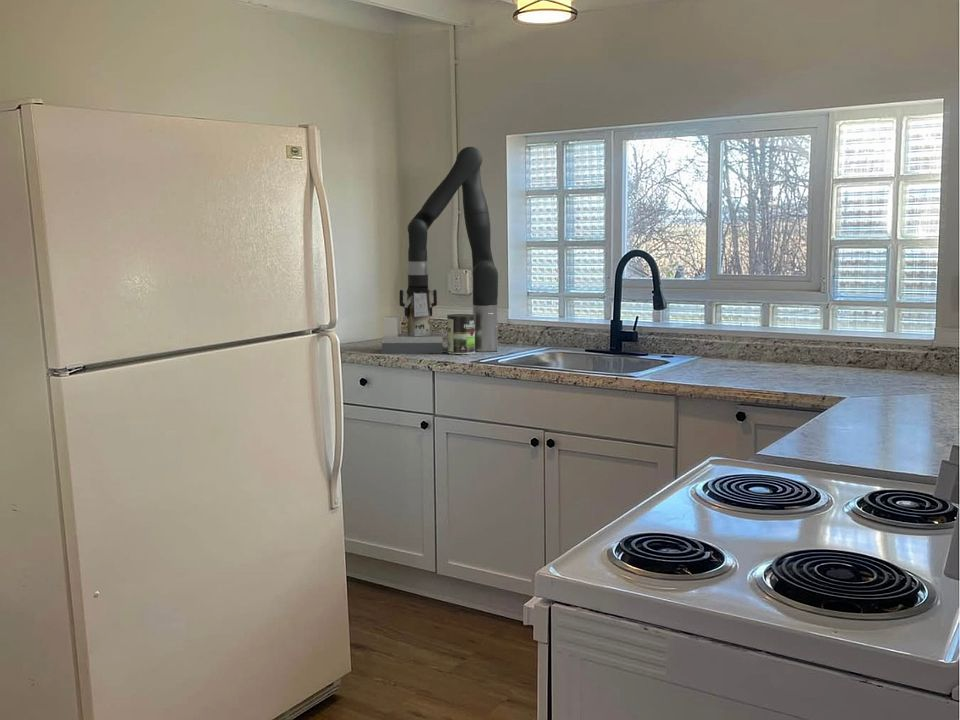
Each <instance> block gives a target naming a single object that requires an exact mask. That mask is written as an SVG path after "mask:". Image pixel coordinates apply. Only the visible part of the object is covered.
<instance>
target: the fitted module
mask: <svg viewBox="0 0 960 720" xmlns="http://www.w3.org/2000/svg"><path fill="white" fill-rule="evenodd" d="M399 324H400V317H399V316H389V315H388V316H384V317H383V337H399V333H400V325H399Z"/></svg>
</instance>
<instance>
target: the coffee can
mask: <svg viewBox="0 0 960 720" xmlns="http://www.w3.org/2000/svg"><path fill="white" fill-rule="evenodd" d="M446 317H447V354H448V353H449V354H448V355H455V354H462V355H461V356H464V355H465V354H468V355H475V353H476V351H475V315H473V314H468V313H466V314H465V313H456V314H454V313H453V314H447V315H446Z"/></svg>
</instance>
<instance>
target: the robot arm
mask: <svg viewBox="0 0 960 720" xmlns="http://www.w3.org/2000/svg"><path fill="white" fill-rule="evenodd" d="M482 163H483V155H482V153H481V151H480V150H479V149H478V148H476V147H474V146H466V147H463V148H462V149H461V150H460V151H459V152H458V154H457V155H456V158H455V162H454V163H453V166H452V168H451V169H450V171H449V172H448V174H447V175H446V176H445V178H444V179H443V180H442V181H441V182H440V184H439V185H437V187H435V189H434V190H433V192H432V193H431V194H430V195H429V196H428V198H427V199H426V201H425V202H424V203H423V205H422V206H421V208H420V210H419V211H418V212H417V213H416V214H415V215H414V217H412V219H411V220H410V222H409V223H408V224H407V233H408V250H407V254H408V255H407V258H408V259H407V289H400V290H399V306H400V307H402V308H404V317H406V318H407V319H408V318H409V308H408V305H409V304H410V302H411V300H410V299H411V297H410V298H409V300H408V301H407V300H406V302H405V303H404V296H405V295H407V294H408V295H409V296H411V293H429V294H431V296H433V302H432V303H431V302H430V317H432V316H433V307H436V306H438V296H437V295H438V293H437V289H436V288H435V289H429V266H428V265H429V264H428V247H427V246H428V245H427V244H428V230H429V228H431V226H432V224H433V223H434V222H435V220H437V219H438V218H439V216H440V215H441V214H442V213H443V211H444V210H445V209H446V207H447V206H448V205H449V203H450V202H451V200H452V198H454V195H455V194H456V193H457V191H458V190H459V189H460V187H461V190H462V208H463V218H464V223H465V224H464V225H465V230H466V234H467V235H466V236H467V238H468V242H469V246H470V249H471V259H472V260H471V261H472V263H471V264H472V272H471V273H472V315H475V352H480V353H481V352H483V353H484V352H498V351H499V350H498V349H499V347H498V335H499V334H498V333H499V332H498V329H499V328H498V295H499V293H498V292H499V291H498V290H499V274H498V273H499V272H498V270H497V267H496V266H495V263H494V257H493V253H492V249H491V237H492V236H491V234H492V233H491V232H492V231H491V220H490V219H491V218H490V213H489V206H488V204H487V200H486V199H487V198H486V196H485V193H484V190H483V185H482V177H481V166H482Z"/></svg>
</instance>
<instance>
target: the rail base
mask: <svg viewBox="0 0 960 720" xmlns="http://www.w3.org/2000/svg"><path fill="white" fill-rule="evenodd" d="M443 341H444V339H443V340H442V343H382V342H381V354H382V355H430V354H429V353H435V354H434V355H437V354H436V353H438V355H441V354H442V355H443V351H444V346H443V345H444V343H443Z"/></svg>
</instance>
